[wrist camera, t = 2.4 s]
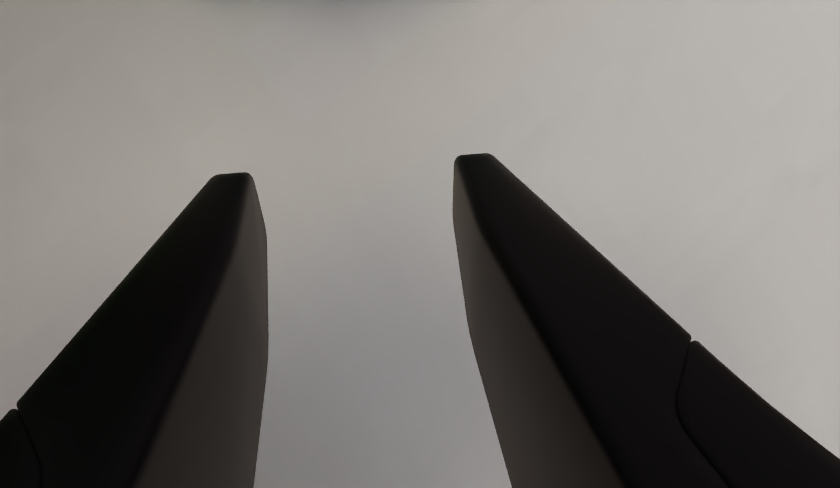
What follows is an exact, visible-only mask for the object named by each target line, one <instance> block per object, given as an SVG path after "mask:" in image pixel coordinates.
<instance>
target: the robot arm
mask: <svg viewBox="0 0 840 488" xmlns="http://www.w3.org/2000/svg"><path fill="white" fill-rule="evenodd" d="M453 224H454V232H455V239H456V245H457V252H458V259H459V266H460V273H461V280H462V287H463V294H464V301H465V308H466V315H467V321H468V327H469V332H470V337H471V341H472V345H473V349H474V353H475V357H476V361H477V364H478V368H479V371H480V375H481V378H482V382H483V386H484V389H485V393H486V396H487V400H488V403H489V407H490V411H491V414H492V418H493V421H494V425H495V428H496V432H497V436H498V439H499V443H500V446H501V450H502V453H503V457H504V461H505V464H506V468H507V471H508V475H509V478H510V482H511V486H512V488H840V459H839V458H837V457H836V456H835V455H833V454H832V453H831V452H829V451H828V450H827V449H825V448H824V447H823V446H822V445H820V444H819V443H818V442H817V441H815V440H814V439H813V438H811V437H810V436H809V435H808V434H806V433H805V432H804V431H803V430H801V429H800V428H799V427H798V426H796V425H795V424H794V423H792V422H791V421H790V420H789V419H787V418H786V417H785V416H784V415H782V414H781V413H780V412H779V411H777V410H776V409H775V408H773V407H772V406H771V405H770V404H768V403H767V402H766V401H765V400H764V399H763V398H762V397H760V396H759V395H758V394H757V393H756V392H755V391H753V390H752V389H751V388H750V387H749V386H748V385H747V384H745V383H744V382H743V381H742V380H741V379H740V378H738V377H737V376H736V375H735V374H734V373H733V372H731V371H730V370H729V369H728V368H727V367H726V366H725V365H723V364H722V363H721V362H720V361H719V360H718V359H717V358H716V357H715V356H714V355H712V354H711V353H710V352H709V351H708V350H707V349H706V348H705V347H704V346H702V345H701V344H700V343H699V342H698V341H692V342H691V343H690V341H691V335H690V334H689V333H688V332H687V331H686V330H684V329H683V328H682V327H681V326H680V325H679V324H678V323H677V322H676V321H675V320H673V319H672V318H671V317H670V316H669V315H668V314H667V313H666V312H665V311H664V310H662V309H661V308H660V307H659V306H658V305H657V304H656V303H655V302H654V301H653V300H651V299H650V298H649V297H648V296H647V295H646V294H645V293H644V292H643V291H641V290H640V289H639V288H638V287H637V286H636V285H635V284H634V283H633V282H632V281H630V280H629V279H628V278H627V277H626V276H625V275H624V274H623V273H622V272H621V271H619V270H618V269H617V268H616V267H615V266H614V265H613V264H612V263H611V262H610V261H608V260H607V259H606V258H605V257H604V256H603V255H602V254H601V253H600V252H599V251H597V250H596V249H595V248H594V247H593V246H592V245H591V244H590V243H589V242H588V241H586V240H585V239H584V238H583V237H582V236H581V235H580V234H579V233H578V232H577V231H575V230H574V229H573V228H572V227H571V226H570V225H569V224H568V223H567V222H566V221H564V220H563V219H562V218H561V217H560V216H559V215H558V214H557V213H556V212H555V211H553V210H552V209H551V208H550V207H549V206H548V205H547V204H546V203H545V202H543V201H542V200H541V199H540V198H539V197H538V196H537V195H536V194H535V193H534V192H532V191H531V190H530V189H529V188H528V187H527V186H526V185H525V184H524V183H523V182H521V181H520V180H519V179H518V178H517V177H516V176H515V175H514V174H513V173H512V172H510V171H509V170H508V169H507V168H506V167H505V166H504V165H503V164H502V163H501V162H499V161H498V160H497V159H496V158H495V157H494V156H493V155H491V154H488V153H482V154H470V155H460V156H458V157H457V158H456V160H455V162H454V181H453ZM267 363H268V277H267V236H266V229H265V223H264V219H263V215H262V211H261V207H260V203H259V199H258V195H257V191H256V187H255V183H254V180H253V177H252V176H251V175H250V174H249V173H246V172H243V173H230V174H219V175H215V176H214V177H212V178H211V179H210V180H209V181H208V182H207V183H206V185H205V186H204V187H203V188H202V189H201V190H200V192H199V193H198V194H197V195H196V196H195V197H194V198H193V200H192V201H191V202H190V203H189V204H188V205H187V207H186V208H185V209H184V210H183V211H182V212H181V213H180V215H179V216H178V217H177V218H176V219H175V220H174V222H173V223H172V224H171V225H170V226H169V227H168V229H167V230H166V231H165V232H164V233H163V234H162V235H161V237H160V238H159V239H158V240H157V241H156V242H155V244H154V245H153V246H152V247H151V248H150V249H149V250H148V252H147V253H146V254H145V255H144V256H143V257H142V259H141V260H140V261H139V262H138V263H137V264H136V265H135V267H134V268H133V269H132V270H131V271H130V272H129V274H128V275H127V276H126V277H125V278H124V279H123V280H122V282H121V283H120V284H119V285H118V286H117V287H116V289H115V290H114V291H113V292H112V293H111V294H110V296H109V297H108V298H107V299H106V300H105V301H104V302H103V304H102V305H101V306H100V307H99V308H98V309H97V311H96V312H95V313H94V314H93V315H92V316H91V317H90V319H89V320H88V321H87V322H86V323H85V324H84V326H83V327H82V328H81V329H80V330H79V331H78V332H77V334H76V335H75V336H74V337H73V338H72V339H71V341H70V342H69V343H68V344H67V345H66V346H65V347H64V349H63V350H62V351H61V352H60V353H59V354H58V356H57V357H56V358H55V359H54V360H53V361H52V362H51V364H50V365H49V366H48V367H47V368H46V369H45V371H44V372H43V373H42V374H41V375H40V376H39V378H38V379H37V380H36V381H35V382H34V383H33V384H32V386H31V387H30V388H29V389H28V390H27V391H26V393H25V394H24V395H23V396H22V397H21V398H20V399H19V401H18V402H17V408H18V410H19V411H18V410H17V409H12V410H10V411H9V412H8V413H7V414H6V415H5V416H4V417H3V419H2V420H1V421H0V488H253V487H254V478H255V469H256V461H257V452H258V444H259V435H260V426H261V418H262V409H263V401H264V392H265V383H266V375H267Z"/></svg>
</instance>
